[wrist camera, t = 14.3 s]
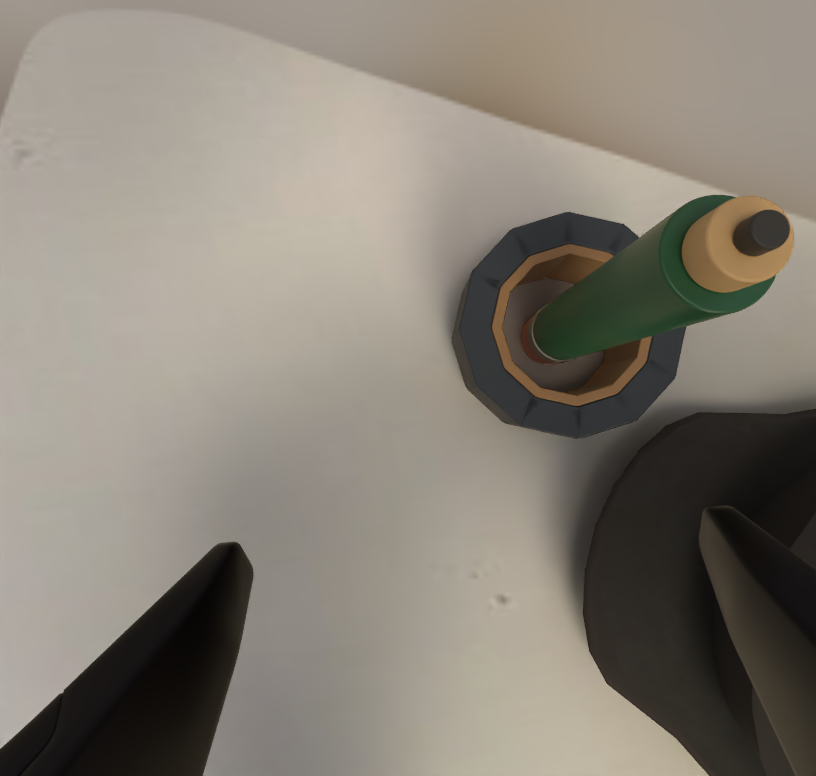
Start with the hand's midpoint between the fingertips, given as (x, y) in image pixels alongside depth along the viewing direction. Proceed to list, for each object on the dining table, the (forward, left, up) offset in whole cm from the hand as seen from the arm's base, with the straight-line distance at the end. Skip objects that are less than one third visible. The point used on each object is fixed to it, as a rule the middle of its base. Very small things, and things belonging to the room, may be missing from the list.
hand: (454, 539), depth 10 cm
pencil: (+4, -7, -13) cm, 15 cm away
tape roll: (+4, -7, -13) cm, 15 cm away
